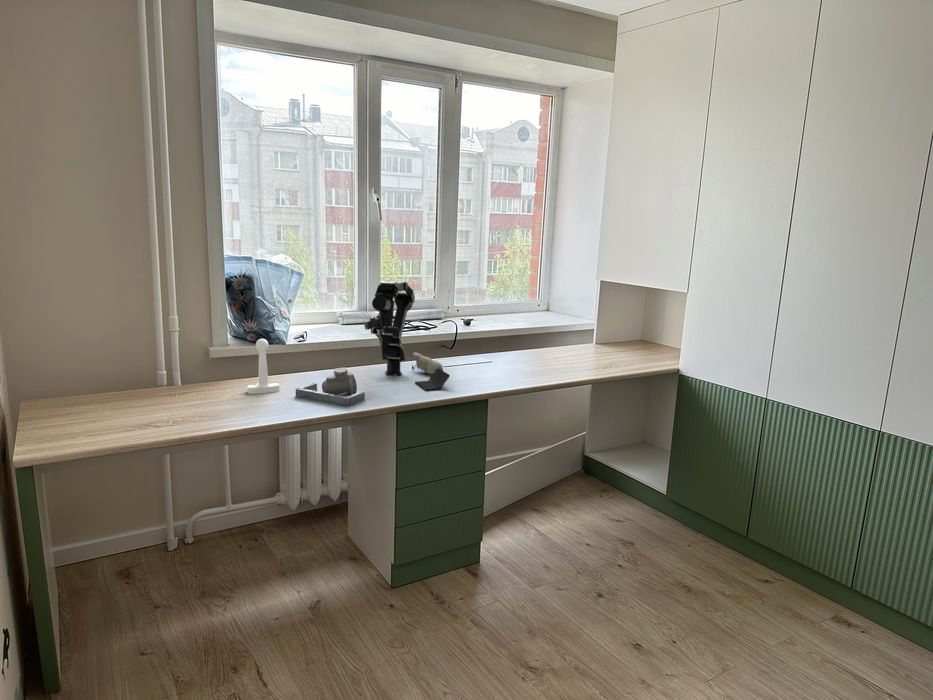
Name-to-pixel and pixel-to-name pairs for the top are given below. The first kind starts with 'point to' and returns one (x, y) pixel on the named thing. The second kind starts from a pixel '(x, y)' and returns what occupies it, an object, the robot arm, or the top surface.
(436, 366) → the decorative bird
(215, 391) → the top surface
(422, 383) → the handheld gaming console
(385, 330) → the robot arm
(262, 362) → the joystick
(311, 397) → the duct bracket
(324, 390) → the pipe fitting
